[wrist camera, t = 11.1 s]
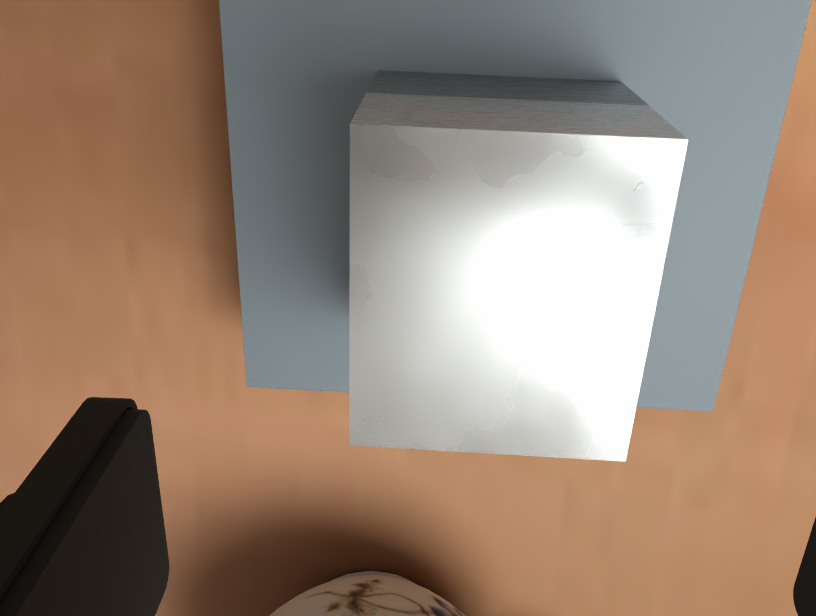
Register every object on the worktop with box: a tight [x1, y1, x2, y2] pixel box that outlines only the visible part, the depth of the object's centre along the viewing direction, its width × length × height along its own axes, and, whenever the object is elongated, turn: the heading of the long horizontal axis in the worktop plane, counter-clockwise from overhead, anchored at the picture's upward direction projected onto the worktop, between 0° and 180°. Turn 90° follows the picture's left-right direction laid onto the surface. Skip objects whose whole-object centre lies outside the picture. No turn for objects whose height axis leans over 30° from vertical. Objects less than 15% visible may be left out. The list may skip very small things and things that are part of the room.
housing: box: [349, 70, 688, 461], centre depth 18 cm, size 7×6×6 cm
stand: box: [219, 0, 812, 411], centre depth 22 cm, size 14×12×4 cm
